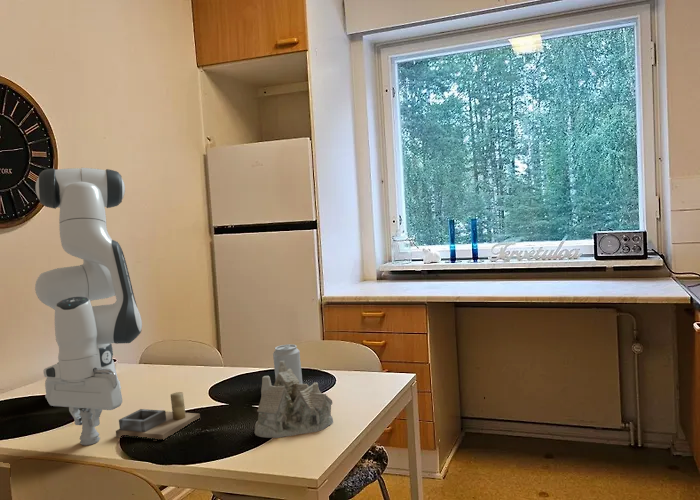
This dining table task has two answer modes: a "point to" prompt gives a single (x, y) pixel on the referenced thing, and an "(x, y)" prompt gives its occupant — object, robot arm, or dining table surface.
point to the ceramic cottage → (291, 407)
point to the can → (288, 359)
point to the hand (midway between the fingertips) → (87, 425)
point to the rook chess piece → (88, 429)
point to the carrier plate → (157, 420)
